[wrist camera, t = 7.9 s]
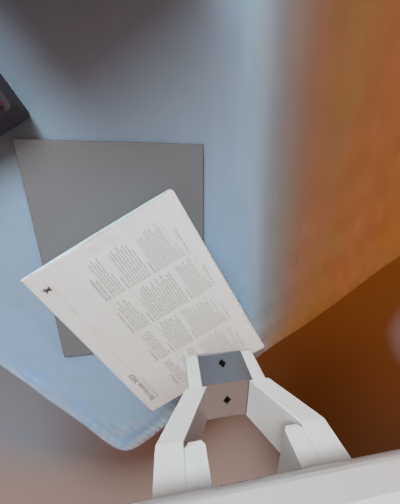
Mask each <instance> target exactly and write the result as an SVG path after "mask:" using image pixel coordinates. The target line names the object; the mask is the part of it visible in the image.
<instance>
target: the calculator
mask: <svg viewBox="0 0 400 504" xmlns="http://www.w3.org/2000/svg"><path fill="white" fill-rule="evenodd" d="M28 118H29V112H28V111H27V109H26V108H25V107H24V105H23V104H22V102H21V101H20V100H19V98H18V97H17V96H16V94H15V93H14V92H13V90H12V89H11V87H10V86H9V85H8V83H7V82H6V81H5V79H4V78H3V77H2V75H1V74H0V136H1V135H2V134H4V133H5V132H7V131H9V130H10V129H12V128H14V127H15V126H17V125H19V124H20V123H22V122H23V121H25V120H27V119H28Z"/></svg>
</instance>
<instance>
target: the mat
mask: <svg viewBox="0 0 400 504" xmlns="http://www.w3.org/2000/svg"><path fill="white" fill-rule="evenodd" d="M13 142H14V146H15V151H16V155H17V159H18V163H19V168H20V172H21V176H22V180H23V184H24V189H25V193H26V197H27V201H28V206H29V210H30V214H31V218H32V222H33V227H34V231H35V235H36V239H37V243H38V248H39V252H40V256H41V260H42V265H45V264H46V263H48V262H49V261H51V260H52V259H54V258H56V257H57V256H59V255H61V254H62V253H64V252H65V251H67V250H69V249H70V248H72V247H73V246H75V245H77V244H78V243H80V242H81V241H83V240H85V239H86V238H88V237H90V236H91V235H93V234H95V233H96V232H98V231H99V230H101V229H103V228H104V227H106V226H108V225H109V224H111V223H113V222H114V221H116V220H118V219H119V218H121V217H123V216H124V215H126V214H128V213H129V212H131V211H133V210H134V209H136V208H138V207H139V206H141V205H143V204H144V203H146V202H148V201H149V200H151V199H153V198H154V197H156V196H158V195H159V194H161V193H163V192H165V191H166V190H168V189H171V190H173V191H174V192H175V194H176V196H177V197H178V199H179V201H180V202H181V204H182V206H183V208H184V209H185V211H186V213H187V214H188V216H189V218H190V220H191V221H192V223H193V225H194V227H195V228H196V230H197V232H198V233H199V235H200V237H201V239H202V240H203V144H177V143H142V142H107V141H71V140H36V139H13ZM55 319H56V324H57V328H58V332H59V336H60V340H61V345H62V349H63V353H64V357H67V356H76V355H85V354H93V352H92V351H91V350H90V349H89V348H88V347H87V346H86V345H85V344H84V343H83V342H82V341H81V340H80V339H79V338H78V337H77V336H76V335H75V334H74V333H73V332H72V331H71V330H70V329H69V328H68V327H67V326H66V325H65V324H64V323H63V322H62V321H61V320H60V319H59V318H58V317H57V316H55Z"/></svg>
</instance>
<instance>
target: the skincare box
mask: <svg viewBox="0 0 400 504" xmlns="http://www.w3.org/2000/svg"><path fill="white" fill-rule="evenodd" d="M21 281H22V283H23V284H24V285H25V286H26V287H27V288H28V289H29V290H30V291H31V292H32V293H33V294H34V295H36V296H37V297H38V298H39V299H40V301H41V302H43V303H44V304H45V305H46V306H47V307H48V308H49V309H50V310H51V311H52V312H53V313H54V315H55V316H57V317H58V318H59V319H60V320H61V321H62V322H63V323H64V324H65V325H66V326H67V327H68V328H69V329H70V330H71V331H72V332H73V333H74V334H75V335H76V336H77V337H78V338H79V339H80V340H81V341H82V342H83V343H84V344H85V345H86V346H87V347H88V348H89V349H90V350H91V351H92V352H93V353H94V354H95V355H96V356H97V357H98V358H99V359H100V360H101V361H102V362H103V363H104V364H105V365H106V366H107V367H108V368H109V369H110V370H111V371H112V372H113V373H114V374H115V375H116V376H117V377H118V378H119V379H120V380H121V381H122V382H123V383H124V384H125V385H126V386H127V387H128V388H129V389H130V390H131V391H132V392H133V393H134V394H135V395H136V396H137V397H138V398H139V399H140V400H141V401H142V402H143V403H144V404H145V405H146V406H147V407H148V408H149V409H150V410H151V411H155V410H157V409H158V408H159V407H161V406H163V405H164V404H166V403H168V402H170V401H171V400H173V399H175V398H176V397H178V396H180V395H182V394H183V393H184V391H185V389H187V384H186V355H197V354H205V353H217V352H224V351H232V350H239V349H247V348H249V349H251V351H252V353H255V352H256V351H258V350H260V349H262V348H264V344H263V342H262V341H261V339H260V337H259V336H258V334H257V332H256V331H255V329H254V327H253V326H252V324H251V322H250V320H249V319H248V317H247V315H246V314H245V312H244V310H243V308H242V307H241V305H240V303H239V302H238V300H237V298H236V296H235V295H234V293H233V291H232V290H231V288H230V286H229V284H228V283H227V281H226V279H225V278H224V276H223V274H222V273H221V271H220V269H219V268H218V266H217V264H216V262H215V261H214V259H213V257H212V256H211V254H210V252H209V251H208V249H207V247H206V245H205V244H204V242H203V240H202V239H201V237H200V235H199V233H198V232H197V230H196V228H195V227H194V225H193V223H192V221H191V220H190V218H189V216H188V214H187V213H186V211H185V209H184V208H183V206H182V204H181V202H180V201H179V199H178V197H177V196H176V194H175V192H174V191H173V190H171V189H168V190H166V191H165V192H163V193H161V194H159V195H158V196H156V197H154V198H153V199H151V200H149V201H148V202H146V203H144V204H143V205H141V206H139V207H138V208H136V209H134V210H133V211H131V212H129V213H128V214H126V215H124V216H123V217H121V218H119V219H118V220H116V221H114V222H113V223H111V224H109V225H108V226H106V227H104V228H103V229H101V230H99V231H98V232H96V233H95V234H93V235H91V236H90V237H88V238H86V239H85V240H83V241H81V242H80V243H78V244H77V245H75V246H73V247H72V248H70V249H69V250H67V251H65V252H64V253H62V254H61V255H59V256H57V257H56V258H54V259H52V260H51V261H49V262H48V263H46V264H45V265H43V266H42V267H40V268H39V269H37V270H35V271H34V272H32V273H31V274H29V275H28V276H26V277H24V278H22V279H21Z"/></svg>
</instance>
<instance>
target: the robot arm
mask: <svg viewBox="0 0 400 504" xmlns="http://www.w3.org/2000/svg"><path fill="white" fill-rule="evenodd" d="M186 384H187V389H185V391H184V393H183V395H182V397H181V399H180V400H179V402H178V404H177V406H176V408H175V410H174V412H173V414H172V415H171V417H170V419H169V421H168V423H167V425H166V427H165V429H164V430H163V433H162V434H161V436H160V438H159V440H158V442H157V444H156V445H155V457H154V474H153V475H154V476H153V493H152V500H148V501H143V502H138V503H133V504H400V449H397V450H392V451H387V452H383V453H378V454H373V455H368V456H363V457H358V458H353V459H351V457H350V456H349V454H348V453H347V451H346V450H345V448H344V447H343V446H342V444H341V442H340V441H339V439H338V438H337V436H336V435H335V433H334V432H333V430H332V429H331V427H330V426H329V425H328V423H327V421H326V420H325V418H324V417H322V416H321V415H319V414H318V413H317V412H315V411H314V410H313V409H311V408H309V407H308V406H307V405H306V404H304V403H303V402H301V401H300V400H299V399H297V398H296V397H295V396H293V395H292V394H290V393H289V392H288V391H286V390H285V389H283V388H282V387H281V386H279V385H278V384H277V383H275V382H274V381H272V380H271V379H270V378H265V377H264V374H263V373H262V371H261V369H260V367H259V365H258V363H257V361H256V359H255V357H254V355H253V353H252V351H251V349H249V348H247V349H239V350H232V351H224V352H217V353H205V354H197V355H186ZM240 414H246V415H247V416H248V418H249V419H250V420H251V421H252V422H253V423H254V424H255V425H256V426H257V428H258V429H259V430H260V431H261V432H262V433H263V434H264V436H265V437H266V438H267V439H268V440H269V441H270V442H271V443H272V444H273V446H274V447H275V448H276V449H277V450H278V451H279V452H280V459H279V465H278V470H277V474H275V475H270V476H265V477H260V478H255V479H250V480H245V481H240V482H235V483H231V484H226V485H221V486H216V487H212V483H211V477H210V470H209V464H208V457H207V450H206V444H205V443H204V442H202V441H201V437H202V434H203V431H204V428H205V425H206V421H207V420H210V419H215V418H220V417H225V416H233V415H240Z"/></svg>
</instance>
